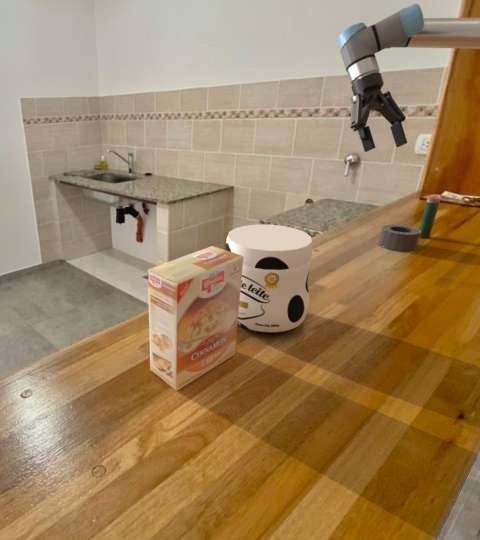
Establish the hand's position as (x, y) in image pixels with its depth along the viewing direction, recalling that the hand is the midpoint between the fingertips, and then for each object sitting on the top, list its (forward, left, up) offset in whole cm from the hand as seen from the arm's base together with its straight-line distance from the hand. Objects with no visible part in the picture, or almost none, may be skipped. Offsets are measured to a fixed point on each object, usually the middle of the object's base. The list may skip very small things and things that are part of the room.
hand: (386, 147), depth 110 cm
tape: (-7, +9, -26) cm, 29 cm away
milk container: (+19, +65, -26) cm, 73 cm away
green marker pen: (-14, -2, -26) cm, 30 cm away
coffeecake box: (+26, +85, -26) cm, 93 cm away
